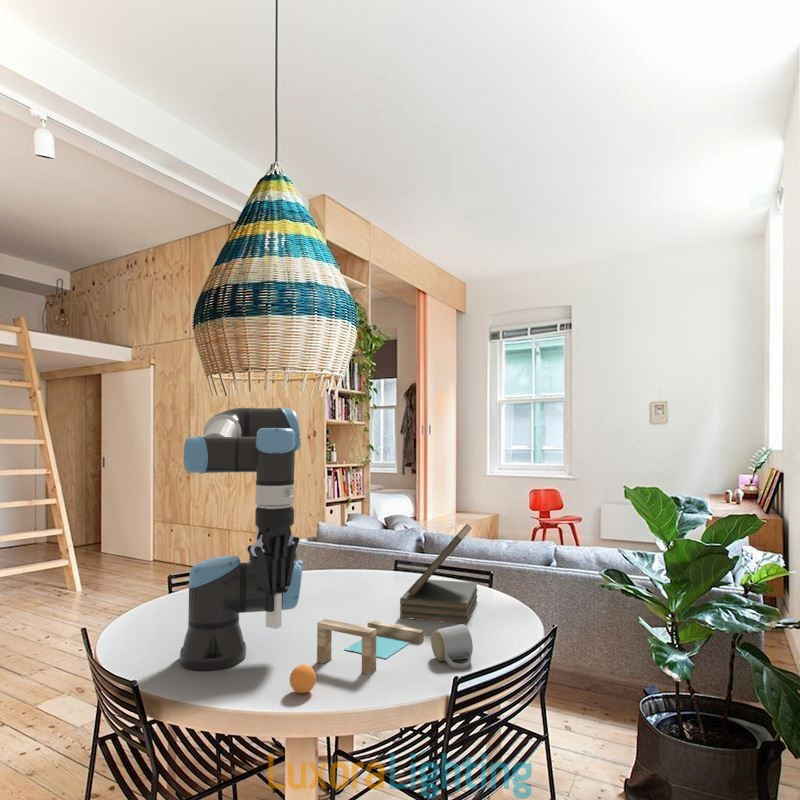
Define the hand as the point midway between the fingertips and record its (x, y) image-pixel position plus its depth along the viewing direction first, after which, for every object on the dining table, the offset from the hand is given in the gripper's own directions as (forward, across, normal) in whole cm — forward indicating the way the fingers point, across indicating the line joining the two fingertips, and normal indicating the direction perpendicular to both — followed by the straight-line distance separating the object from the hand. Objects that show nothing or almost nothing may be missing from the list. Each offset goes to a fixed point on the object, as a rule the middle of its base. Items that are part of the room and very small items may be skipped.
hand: (273, 626), depth 120 cm
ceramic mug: (+17, +41, -20) cm, 49 cm away
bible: (+17, +76, 0) cm, 78 cm away
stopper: (+16, +49, 0) cm, 51 cm away
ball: (+14, +10, 0) cm, 17 cm away
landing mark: (+16, +40, 0) cm, 43 cm away
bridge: (+16, +26, 0) cm, 30 cm away
